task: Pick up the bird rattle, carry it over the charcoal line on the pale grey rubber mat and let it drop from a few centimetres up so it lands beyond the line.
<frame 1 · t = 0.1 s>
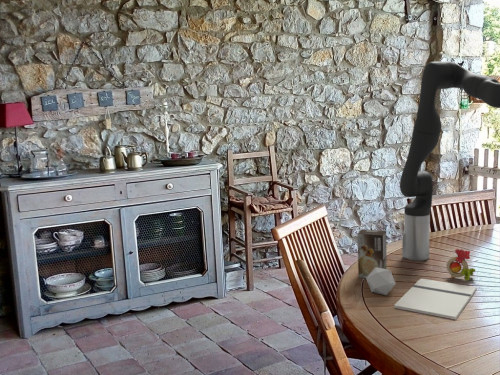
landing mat: (436, 298, 173), on the table
die: (380, 292, 180), on the table
coffee box: (372, 276, 195), on the table
bird rattle: (460, 279, 189), on the table
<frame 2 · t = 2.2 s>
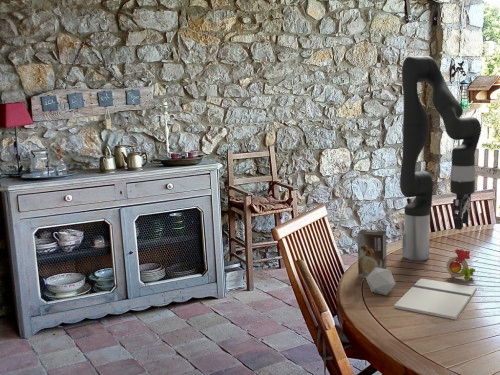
hand: (461, 226, 185), 18 cm above the table, tool pointing down, fingers open, 8 cm apart
nothing on the table moved.
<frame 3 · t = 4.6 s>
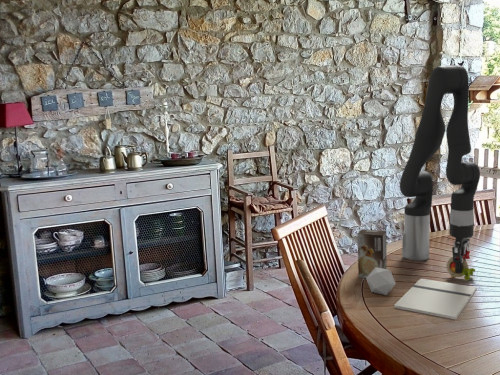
hand: (460, 270, 188), 3 cm above the table, tool pointing down, fingers closed on bird rattle, 4 cm apart
bird rattle: (460, 279, 189), on the table, touching gripper
everything else where it was.
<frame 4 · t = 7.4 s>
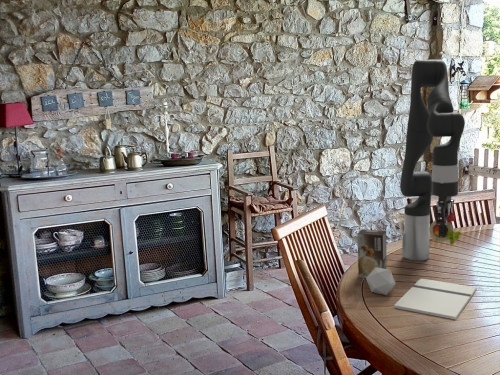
hand: (444, 234, 170), 20 cm above the table, tool pointing down, fingers closed on bird rattle, 3 cm apart
bird rattle: (444, 244, 170), point 17 cm above the table, touching gripper
everything else where it was.
when the fingers open (6 cm above the table, at t = 10.1 s): bird rattle drops 2 cm, resting on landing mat.
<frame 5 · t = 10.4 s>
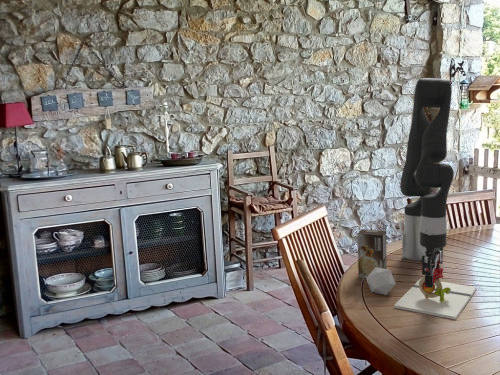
hand: (432, 283, 168), 7 cm above the table, tool pointing down, fingers open, 6 cm apart
bird rattle: (434, 299, 170), point 1 cm above the table, touching gripper, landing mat
everything else where it was.
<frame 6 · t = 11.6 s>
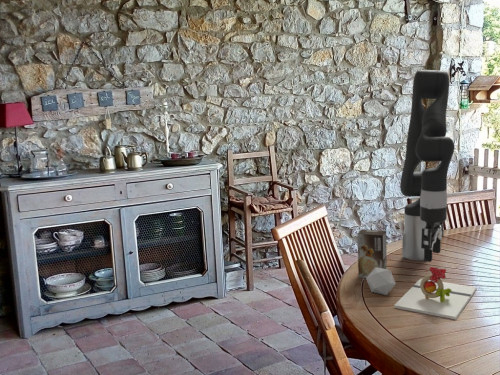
hand: (432, 256, 166), 15 cm above the table, tool pointing down, fingers open, 8 cm apart
bird rattle: (434, 300, 170), point 1 cm above the table, touching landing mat
everything else where it was.
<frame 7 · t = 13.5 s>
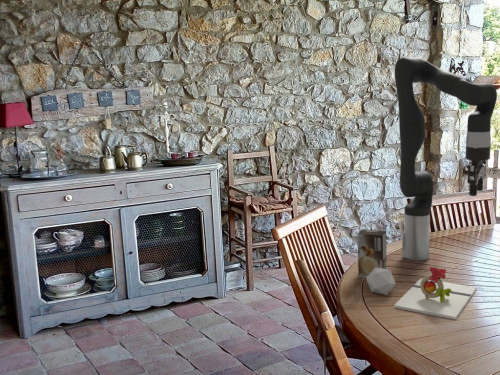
hand: (476, 193, 185), 29 cm above the table, tool pointing down, fingers open, 8 cm apart
nothing on the table moved.
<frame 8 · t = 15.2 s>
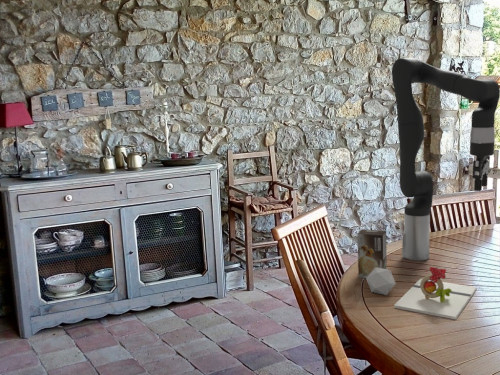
hand: (480, 188, 187), 30 cm above the table, tool pointing down, fingers open, 8 cm apart
nothing on the table moved.
at the end: bird rattle inside the target area (2.1 cm from its centre), point 0.6 cm above the table; the gripper is holding nothing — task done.
